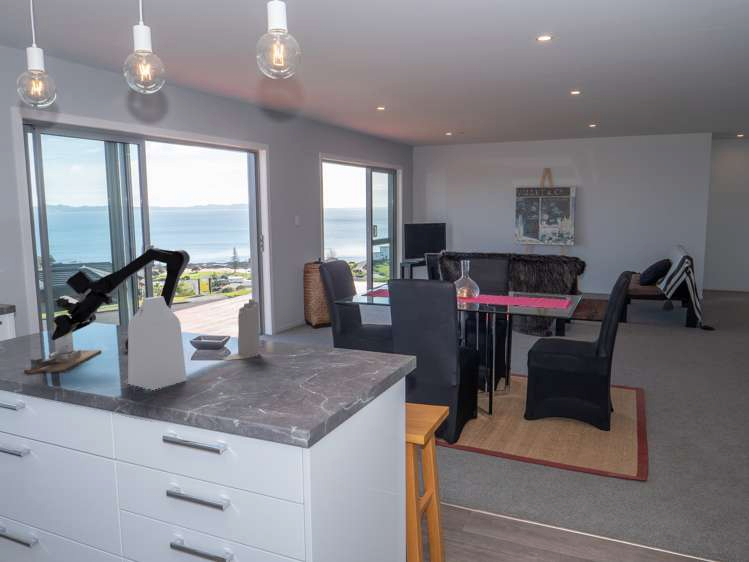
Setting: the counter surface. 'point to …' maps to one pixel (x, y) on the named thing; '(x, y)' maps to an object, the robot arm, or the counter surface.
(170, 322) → the milk
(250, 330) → the grey stepped bookend
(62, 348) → the block
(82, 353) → the shaft board
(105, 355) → the counter surface
